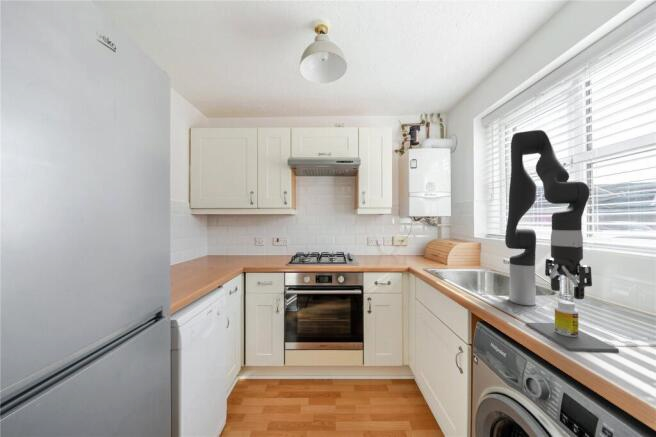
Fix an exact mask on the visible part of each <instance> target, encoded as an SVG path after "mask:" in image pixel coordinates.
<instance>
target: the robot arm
mask: <svg viewBox="0 0 656 437" xmlns="http://www.w3.org/2000/svg"><path fill="white" fill-rule="evenodd" d="M535 154H539V155H540V157H539V159H537V161H536V162H537V163H536V164H535V173H536V174H537V176H538V178H539V179H540V181H541V182H542V185H543V194H544V196H543V197H544V199H545V201H547V202H548V203H550V204H552V205H568V206H567V208H566V209H564V210H561V211H555V212H553V213H552V215H551V234H550V257H551V258H546V259H545V268H544V270H545V271H544V275H545V276H546V277H548V278H549V279H550V288H551V291H553V292H558V291H560V290H561V282H560V281H561V280H560V278H561V277H562V276H564V277H567V278H568V279H569V280H570V281H571V282H572V283H573V285H574V286H573V298H574V299H575V300H584V298H585V289H586V288H588V287H593V276H592V267H591V266H590V265H581V261H582V260H583V259H584V239H583V238H584V237H583V236H584V235H583V233H582V232H583V231H582V230H583V229H582V228H583V226H582V223H583V222H582V221H583V220H582V219H583V214H584V211H585V208H586V205H587V203H588V200H589V199H590V198H589V197H590V194H591V193H590V192H591V191H590V187H589V186H588V185H587V183H585V182H584V181H581V180H580V181H579V180H577V181H569V179H570V174H569V172H568V170H567V169H566V168H565V167H564V166H563V164H562V162H561V161H560V160H559V159H558V157H557V154H556V152H555V149H554V147H553V145H552V142H551V140H550V137H549V136H548V133H546V131H544V130H543V129H535V130H534V129H533V130H527V131H521V132H515V133H514V134H513V136H512V137H511V141H510V163H511V164H510V181H509V191H508V192H509V193H508V212H507V214H508V215H507V223H506V228H505V229H506V230H505V237H504V243H505V246H506V247H507V248H508V249H511V250H512V249H513V250H524V251H523V252H521V253H519V254H516V255H513V256H510V258H509V279H508V299H509V301H510V302H511V303H514V304H517V305H522V306H535V305H536V302H537V300H536V297H537V295H536V293H537V292H536V253H537V252H536V249H537V234H536V232H535V230H534V229H533V228H517V227H518V224H519V223H520V221H521V219H522V218H523V217H524V215H525V214H527V213H528V211H529V210H531V208H532V207H533V206H534V204H535V202H536V198H537V187H538V186H537V184H536V182H535V180H534V179H533V177H532V176H531V175H530V174H529V172H528V170H527V169H526V167H525V164H524V158H523V157H524V155H525V156H527V155H535Z"/></svg>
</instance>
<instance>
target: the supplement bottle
mask: <svg viewBox="0 0 656 437" xmlns="http://www.w3.org/2000/svg"><path fill="white" fill-rule="evenodd" d="M554 323H555V331H556V332H557V333H558V334H561V335H563V336H567V337H577V336H578V330H579V311H578V309H576V304H575V302H573V301H570V300H558V301H557V305H556V306H555V307H554Z"/></svg>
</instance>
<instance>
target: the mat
mask: <svg viewBox="0 0 656 437" xmlns="http://www.w3.org/2000/svg"><path fill="white" fill-rule="evenodd" d="M525 326H527V327H528V328H531V329H532V330H534V331H535V332H537V333H539V334H540V335H543V336H544V337H546V338H547V339H550V340H551V341H553V342H554V343H557V344H558V345H560V346H561V347H563V348H565V349H566V350H568V351H570V352H607V353H608V352H610V353H612V352H614V353H616V352H617V353H619V351H620V349H619V348H618V347H616V346H613V345H611V344H609V343H607V342H605V341H603V340H601V339H598V338H597V337H594V336H592V335H590V334H588V333H585V332H583V331H582V330H580V329H578V336H577V337H567V336H563V335H561V334H558V333H557V332H556V331H555V322H525Z"/></svg>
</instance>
